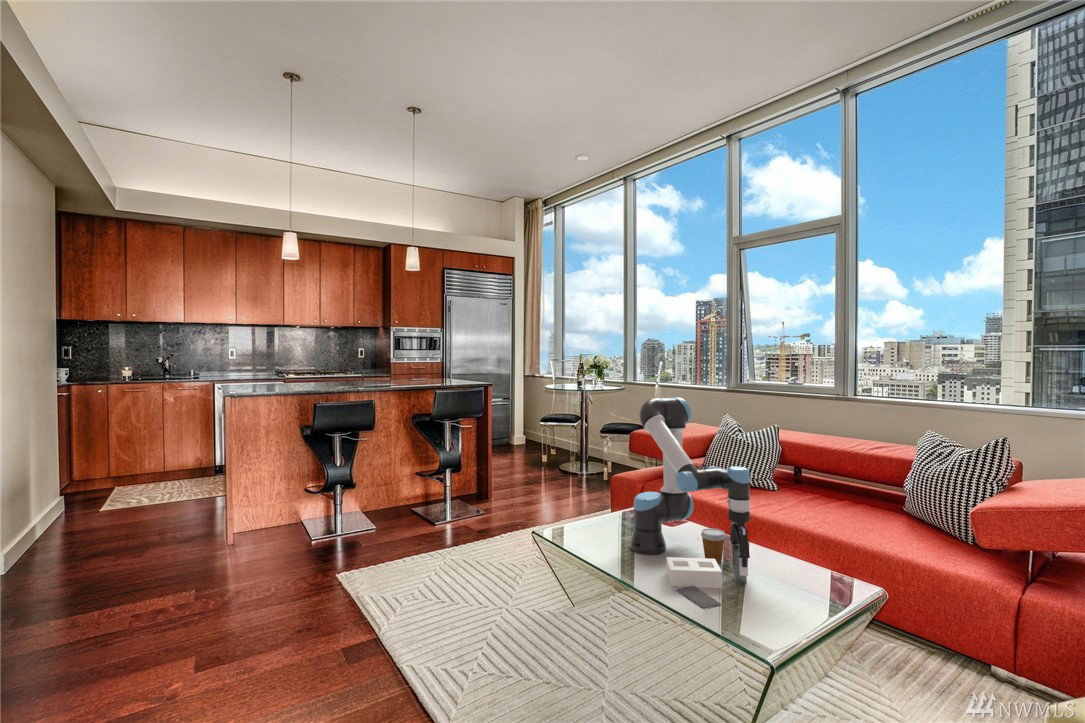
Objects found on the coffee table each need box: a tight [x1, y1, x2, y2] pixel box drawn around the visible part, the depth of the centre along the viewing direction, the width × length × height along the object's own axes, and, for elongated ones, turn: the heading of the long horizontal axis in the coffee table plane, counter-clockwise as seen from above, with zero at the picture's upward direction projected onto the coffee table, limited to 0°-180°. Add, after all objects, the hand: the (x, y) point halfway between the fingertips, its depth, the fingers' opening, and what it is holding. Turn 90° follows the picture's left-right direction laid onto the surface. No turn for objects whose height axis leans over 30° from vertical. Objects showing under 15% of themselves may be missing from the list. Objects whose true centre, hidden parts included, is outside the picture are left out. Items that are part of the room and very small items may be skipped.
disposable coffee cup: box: [700, 527, 726, 565], centre depth 210 cm, size 10×10×12 cm
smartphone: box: [676, 586, 722, 609], centre depth 178 cm, size 8×1×15 cm
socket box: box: [665, 556, 723, 589], centre depth 192 cm, size 12×18×6 cm
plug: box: [731, 544, 748, 583], centre depth 192 cm, size 4×4×12 cm
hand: (739, 568), depth 192 cm, fingers open, 11 cm apart
